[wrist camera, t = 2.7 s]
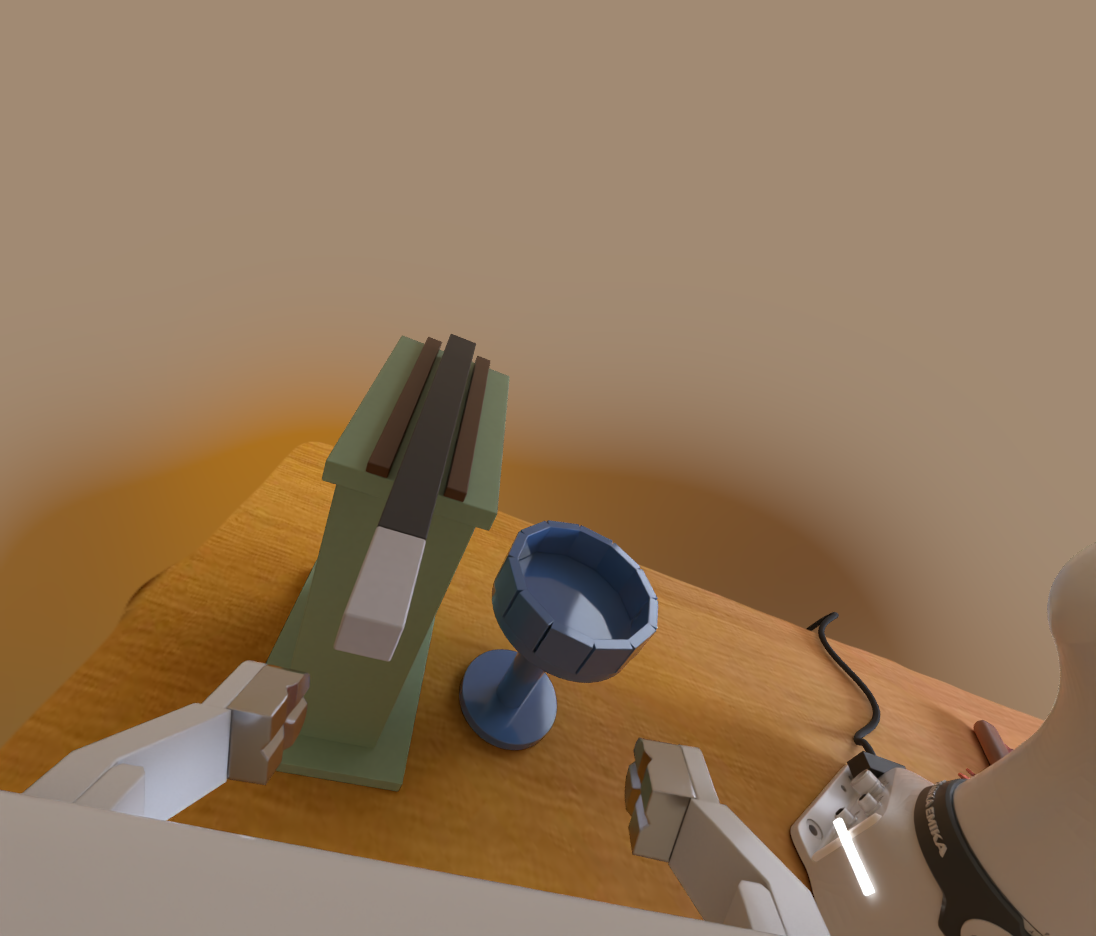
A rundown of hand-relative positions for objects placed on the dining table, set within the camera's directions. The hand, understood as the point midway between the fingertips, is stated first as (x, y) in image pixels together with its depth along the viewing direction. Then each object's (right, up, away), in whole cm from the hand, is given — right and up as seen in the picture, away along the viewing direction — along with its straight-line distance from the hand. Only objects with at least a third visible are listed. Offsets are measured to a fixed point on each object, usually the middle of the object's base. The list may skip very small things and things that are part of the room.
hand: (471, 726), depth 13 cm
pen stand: (-15, -10, +31) cm, 36 cm away
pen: (-4, +7, +14) cm, 16 cm away
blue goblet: (-2, -15, +34) cm, 37 cm away
